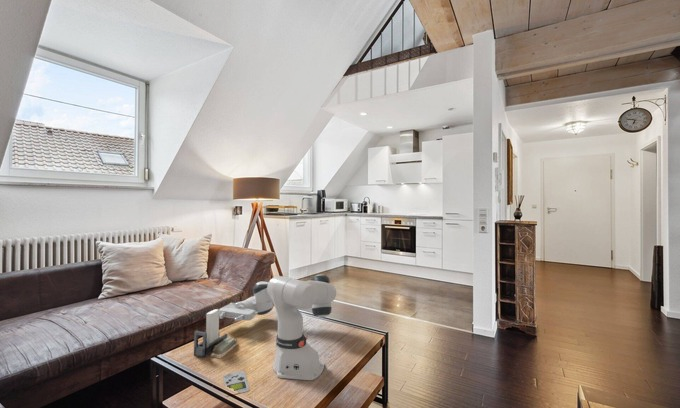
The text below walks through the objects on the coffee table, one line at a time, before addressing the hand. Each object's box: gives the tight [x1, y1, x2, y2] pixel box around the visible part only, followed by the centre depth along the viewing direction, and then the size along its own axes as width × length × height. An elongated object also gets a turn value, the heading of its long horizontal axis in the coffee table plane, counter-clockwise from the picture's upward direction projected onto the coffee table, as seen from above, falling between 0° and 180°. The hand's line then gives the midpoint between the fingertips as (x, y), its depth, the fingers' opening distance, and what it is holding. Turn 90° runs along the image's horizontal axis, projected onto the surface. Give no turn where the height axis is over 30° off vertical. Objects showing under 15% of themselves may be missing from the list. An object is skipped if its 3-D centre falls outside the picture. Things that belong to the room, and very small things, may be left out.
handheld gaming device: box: [222, 370, 250, 394], centre depth 121 cm, size 9×1×15 cm
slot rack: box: [193, 330, 228, 358], centre depth 148 cm, size 6×16×11 cm, turn 163°
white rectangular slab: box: [205, 308, 220, 345], centre depth 148 cm, size 2×6×18 cm, turn 163°
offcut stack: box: [210, 336, 239, 359], centre depth 146 cm, size 5×14×4 cm, turn 165°
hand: (228, 318), depth 160 cm, fingers open, 8 cm apart
